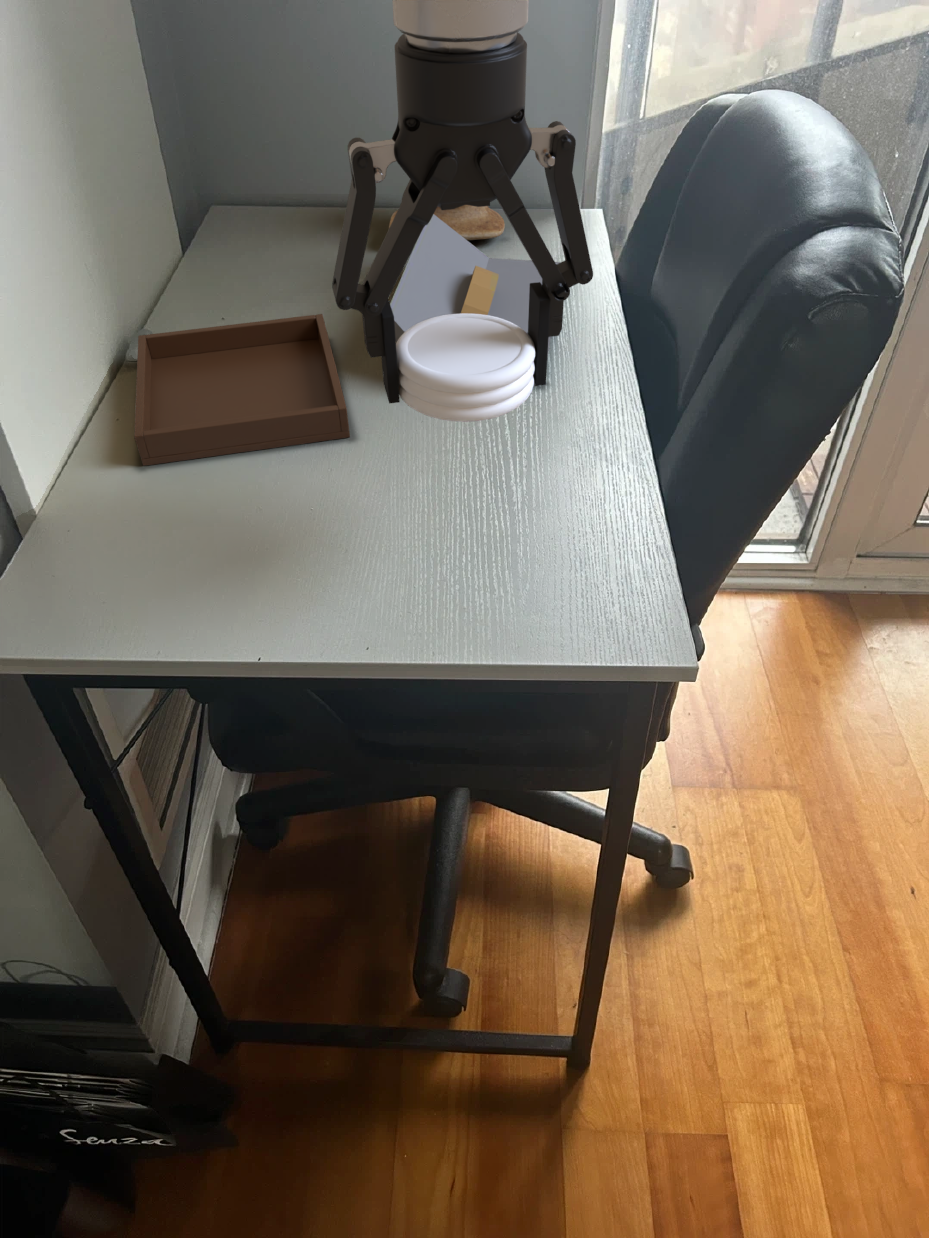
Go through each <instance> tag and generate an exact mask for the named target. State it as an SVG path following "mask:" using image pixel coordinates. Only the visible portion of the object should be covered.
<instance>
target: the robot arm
mask: <svg viewBox="0 0 929 1238" xmlns="http://www.w3.org/2000/svg"><path fill="white" fill-rule="evenodd" d="M529 2H530V1H529V0H392V1H391V3H392V19H393V26H395V27H396V29H397V30H399V32H400V33H401V35H400V36H399V37H398V39H397V41H396V42H395V44H394V61H395V80H396V81H395V83H396V97H397V124H396V127H395V130H394V132H393V134H392V137H391V139H384V140H378V141H370V142H366V141H365V140H364V139H363V138H361V137H353V138H351V139H350V140H349V141H348V143H347V155H348V161H349V169H350V174H351V180H350V186H349V190H348V197H347V202H346V206H345V212H344V218H343V223H342V227H341V228H342V229H341V232H340V240H339V245H338V249H337V250H338V251H337V255H336V260H335V265H334V271H333V276H332V282H331V288H332V293H333V296H334V300H335V304H336V306H337V308H339V310H342V311H348V310H355V311H358V312H360V313H361V315H362V316H361V317H362V318H361V319H362V328H363V337H364V338H363V339H364V344H365V348H366V351H367V353H368V355H369V357H370V358H378V357H381V369H382V380H383V386H384V390H385V394H386V397H387V401H388V404H397V403H400V401H401V400H400V399H401V398H400V395H399V384H398V369H397V354H396V343H397V342H396V338H395V323H394V315H393V312H392V309H391V306H390V303H391V302H390V300H389V298H390V295H391V294H392V292H393V290H394V288H395V286H396V284H397V282H398V279H399V278H400V277H401V274H402V272H403V271H404V269H405V267H406V265H407V263H408V261H409V258H410V256H411V253H412V251H413V249H414V246H415V244H416V242H417V240H418V238H419V236H420V234H421V232H422V230H423V228H424V226H425V225H427V224H428V223H429V222H430V220H431V218H432V216H433V214H434V212H435V210H436V208H437V207H440V208H441V210H450V209H455V208H458V207H461V206H463V205H471V206H476V207H483V206H488V207H490V206H491V203H492V202H494V201H496V200H497V202H498V204H499V205H500V207H501V209H502V211H503V213H504V215H505V216H506V217H507V220H508V221H509V223H510V226H511V227H512V228H513V230H514V233H515V234H516V236H517V237H518V239H519V241H520V243H521V245H522V246H523V248H524V250H525V251H526V254H527V255H528V257H529V258H530V260H532V262H533V264H534V265H535V267H536V269H537V271H538V273H539V274H540V276H541V278H542V284H541V283H540V282H537V283H530V290H529V316H528V335H529V336H530V337H531V339H532V341H533V343H534V347H535V358H534V364H535V370H534V374H533V376H534V383H535V385H536V386H535V387H538V386H544V385H547V374H548V373H547V371H548V359H547V356H548V357H549V353H548V338H549V337H551V338H552V337H559V336H560V334H561V332H562V329H563V321H564V320H563V319H564V316H563V315H564V303H565V301H566V300H567V299H568V298H569V297H570V295H571V288H572V287H574V286H576V285H578V284H579V285H587V284H588V283H590V282H591V281H592V280H593V278H594V269H593V265H592V260H591V255H590V252H589V246H588V241H587V237H586V236H587V235H586V232H585V227H584V222H583V218H582V212H581V208H580V204H579V198H578V194H577V189H576V184H575V180H574V174H573V169H574V161H575V154H576V147H577V140H576V138H575V136H574V135H573V134H572V132H570V130H569V129H568V128H567V127H566V126H565V124H564V123H562V122H561V121H558V120H554V121H552V122H551V123H549V124H548V125H547V127H529V125H528V122H527V120H526V115H525V114H526V93H527V92H526V91H527V63H528V61H527V60H528V59H527V58H528V44H527V43H528V42H527V41H526V40H525V39H524V37H523V35H522V34H521V33H520V31H522V30H523V29H524V28H525V26H526V25H527V24H528V22H529ZM531 151H534V155H535V159H536V161H537V162H538V163H539V164H540V165H541V166H542V167H543V169H544V173H545V178H546V182H547V187H548V192H549V195H550V200H551V205H552V209H553V214H554V218H555V222H556V225H557V231H558V235H559V239H560V244H561V247H562V253H563V256H564V260H563V261H560V262H561V263H558V264H556V263H555V262H556V261H555V260H554V258H553V256H552V254H551V252H550V250H549V249H548V246H547V245H546V244H545V241H544V240H543V238H542V236H541V234H540V232H539V231H538V229H537V227H536V225H535V223H534V221H533V219H532V217H531V216H530V214H529V212H528V210H527V208H526V206H525V204H524V202H523V200H522V199H521V197H520V195H519V193H518V192H517V190H516V188H515V186H514V184H513V181H512V179H513V177H514V175H515V174H516V172H517V171H518V169H520V166H521V165H522V163H523V162H524V160H525V159H526V158H527V156H528V155H529V153H530V152H531ZM395 162H397V164H398V165H399V167H400V168H401V169H402V170H403V172H404V173H405V175H407V177H408V178H409V181H408V182H407V184H406V186H405V188H404V191H403V194H402V196H401V202H400V205H399V207H398V209H397V210H398V211H397V213H396V215H395V217H394V219H393V222H392V224H391V226H390V228H389V227H388V230H387V232H386V234H385V236H384V238H383V239H382V243H381V245H380V246H379V248H378V250H377V253H376V254H375V257H374V259H373V261H372V264H371V265H370V267H369V270H368V272H367V274H366V276H365V278H364V279H363V282H362V283H360V282H359V281H360V278H361V272H362V267H363V263H364V259H365V253H366V248H367V243H368V238H369V233H370V228H371V223H372V219H373V213H374V209H375V204H376V198H377V187H376V186H377V185H376V184H379V183H382V182H383V181H384V180H385V179H386V176H387V171H388V168H389V166H390V165H391V164H393V163H395Z"/></svg>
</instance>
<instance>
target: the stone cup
mask: <svg viewBox="0 0 929 1238" xmlns="http://www.w3.org/2000/svg"><path fill="white" fill-rule="evenodd" d="M397 211H398V209H397V210H395V211H394V212H393V213H392V215H391V217H390V220H389V224H388V229H389V228H390V226H391V224H392V222H393V219H394V217H395V215H396V213H397ZM434 215H435V216H437V217H438V218H439V219H440V220H442V221H443V222H444V223H446V224H447V225H448V226H449V227H451V228H452V229H453V230H454V231H456V232H457V233H458V234H460V235H461V236H462V237H463V238H465V239H466V240H467V241H475V240H488V239H494V238H498V237H500V236H501V235H502V234H503V233H504V231H505V227H506V225H505V223H506V222H505V220H504V218H503V217H502V215H500V213H498V211H496V210H493V209H492V208H490V206H483V207H476V206H471V205H463V206H461V207H458V208H455V209H450V210H441V208H440V207H437V208H436V210H435V212H434Z"/></svg>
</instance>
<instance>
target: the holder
mask: <svg viewBox="0 0 929 1238" xmlns="http://www.w3.org/2000/svg"><path fill="white" fill-rule="evenodd" d="M333 353H334V352H333V350H332V346H331V342H330V338H329V334H328V330H327V326H326V322H325V317H324V315H323V313H319V314H318V313H317V314H310V315H301V316H292V317H284V318H277V319H268V320H267V319H266V320H259V321H251V322H243V323H234V324H226V325H225V324H224V325H217V326H209V327H201V328H192V329H183V330H174V331H167V332H158V333H150V334H149V333H148V334H141V335H140V334H139V335H138V336H137V358H136V381H135V383H136V384H135V406H134V407H135V408H134V409H135V410H134V411H135V412H134V434H133V437H134V441H135V444H136V448H137V450H138V454H139V457H140V461H141V463H142V466H144V467H147V466H152V465H153V466H154V465H160V464H167V463H174V462H181V461H189V460H195V459H204V458H211V457H217V456H225V455H232V454H240V453H246V452H248V453H249V452H253V451H261V450H268V449H275V448H282V447H283V448H284V447H289V446H297V445H298V446H299V445H304V444H312V443H320V442H326V441H334V440H340V439H348V438H350V437H351V433H350V424H349V416H348V408H347V405H346V404H347V403H346V401H345V396H344V393H343V389H342V385H341V381H340V377H339V374H338V373H339V372H338V370H337V365H336V361H335V358H334V354H333Z"/></svg>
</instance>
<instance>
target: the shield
mask: <svg viewBox="0 0 929 1238" xmlns="http://www.w3.org/2000/svg"><path fill="white" fill-rule="evenodd" d="M561 262H562V261H555V263H556V264H558V263H561ZM402 272H403V273H402V275H401V276H400V277H401V278H400V280H399V282H398V284H397V287H396V288H395V290H394V291H395V292H394V294H393V296H392V298H391V301H390V302H389V303H390V306H391V309H392V312H393V315H394V323H395V338H396V343H397V341H398V339H399V338H400V337H401V335H402V334H403V333H404V332H406V331H407V330H408V329H409V328H411V327H412V326H414V325H416V324H417V323H420V322H422V321H424V320H427V319H430V318H434V317H437V316H443V315H449V314H461V313H470V314H482V315H489V316H494V317H498V318H501V319H504V320H507V321H509V322H512V323H513V324H515V325H517V326H518V327H520V328H521V329H523V330H524V331H525V332H526V333H527V334H528V316H529V290H530V283H537V282H540V283H541V284H542V278H541V276H540V274H539V273H538V271H537V269H536V267H535V265H534V264H533V262H532V260H531V259H530V260H528V259H514V258H498V257H489V256H488V255H486V254H485V253H484V252H483V251H481V250H480V249H479V248H478V247H476V246H475V245H474V244H472V243H471V242H470V241H469V240H466V239H465V238H463V237H462V236H461V235H460V234H458V233H457V232H456V231H454V230H453V229H452V228H451V227H449V226H448V225H447V224H446V223H444V222H443V221H442V220H440V219H439V218H438V217H437V216H435V215H434V214H433V216H432V218H431V220H430V222H429V223H428V224H427V225H425V226H424V228H423V230H422V232H421V234H420V236H419V238H418V240H417V242H416V244H415V246H414V248H413V250H412V252H411V254H410V256H409V258H408V260H407V262H406V264H405V267H404V269H403V271H402ZM551 338H552V337H549V338H548V354H549V352H550V344H551V341H552V340H551ZM548 358H549V355H548V356H547V360H548ZM533 387H537V386H536V385H535V383H534V385H533Z"/></svg>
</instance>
